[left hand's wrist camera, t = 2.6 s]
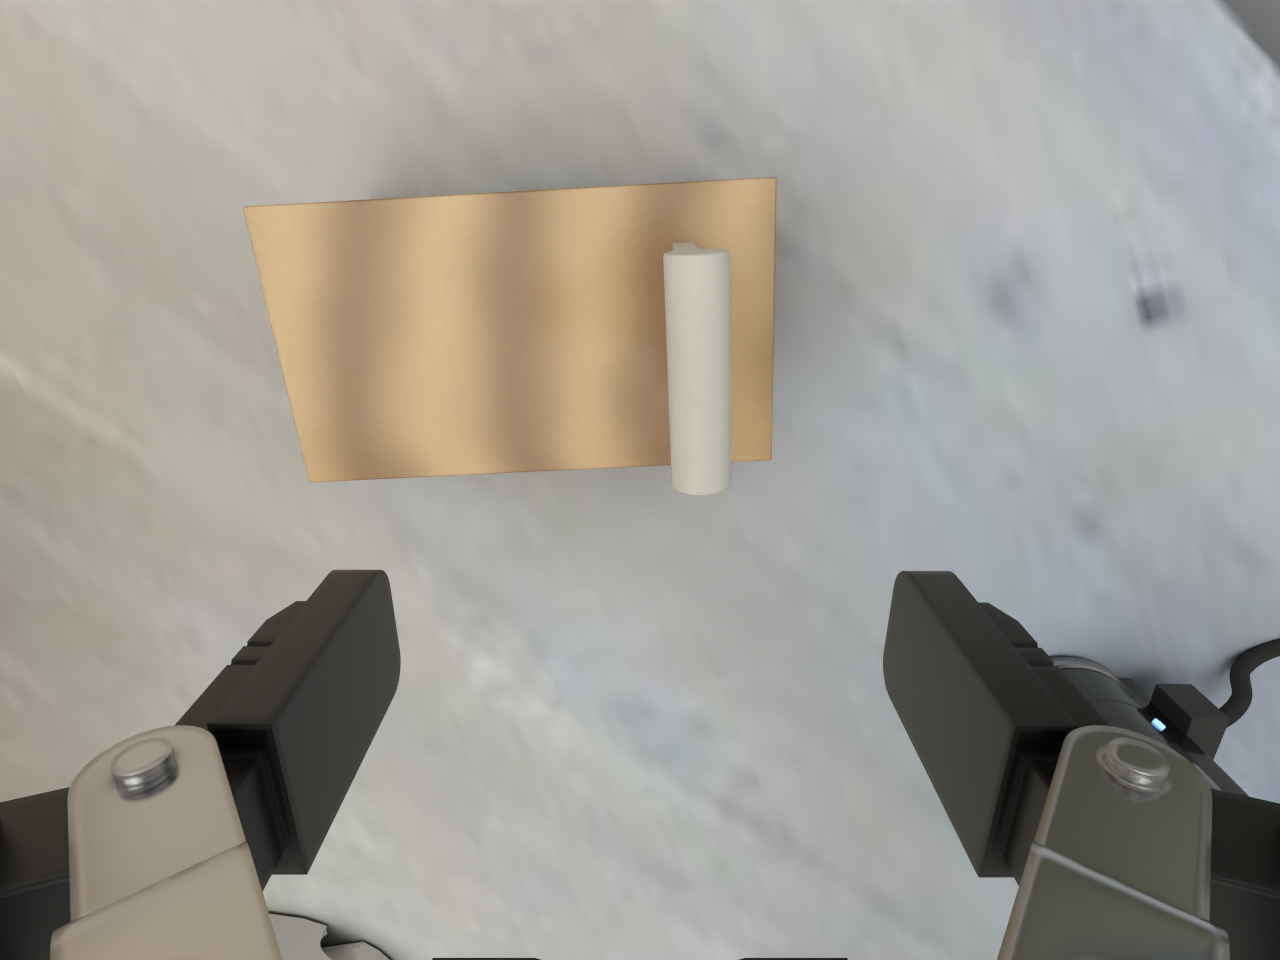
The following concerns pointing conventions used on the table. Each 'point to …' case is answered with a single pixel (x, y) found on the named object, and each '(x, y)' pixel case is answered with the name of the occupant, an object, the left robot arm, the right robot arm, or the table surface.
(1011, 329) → the table surface
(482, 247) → the lid
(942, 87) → the table surface
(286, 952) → the ashtray
